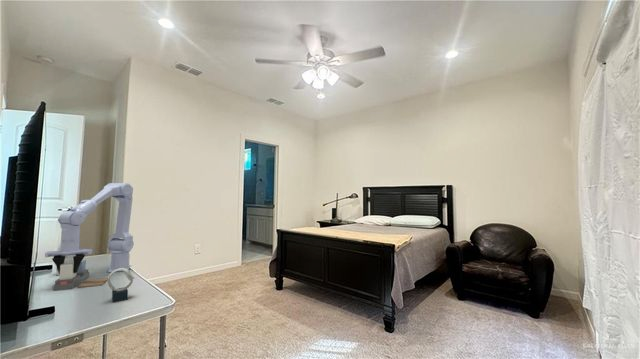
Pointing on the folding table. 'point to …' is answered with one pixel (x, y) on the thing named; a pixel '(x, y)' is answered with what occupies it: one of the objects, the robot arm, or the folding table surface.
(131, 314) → the folding table surface
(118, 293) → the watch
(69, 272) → the block
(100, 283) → the walnut board
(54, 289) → the power strip
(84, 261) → the blue charger
